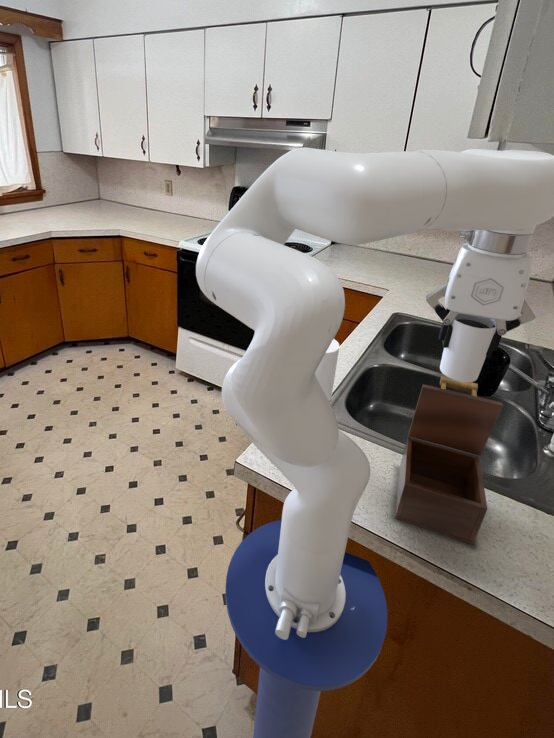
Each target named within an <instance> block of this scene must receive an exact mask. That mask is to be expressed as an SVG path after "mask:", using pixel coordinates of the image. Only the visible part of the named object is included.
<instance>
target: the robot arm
mask: <svg viewBox="0 0 554 738" xmlns="http://www.w3.org/2000/svg"><path fill="white" fill-rule="evenodd" d="M553 217H554V155H553V154H551V153H548V152H544V151H536V150H526V149H525V150H524V149H523V150H522V149H506V150H498V149H486V148H470V149H465V150H462V151H456V150H455V151H453V150H442V149H418V150H417V149H416V150H405V151H403V150H402V151H389V152H388V151H387V152H386V151H382V152H345V151H338V150H337V151H335V150H329V149H322V148H321V149H320V148H314V147H313V148H312V147H298V148H294V149H291V150H289V151H288V152H286V153H284V154H283V155H281V156H279V158H277V159H276V160H275V161H274V162H273V163H272V164H270V165H269V166H268V167H267V168H266V169H265V170H264V171H263V172H262V174H260V175H259V177H257V179H256V180H255V181H254V182H253V183H252V184H251V185H250V186H249V187H248V189H247V190H246V191H245V192H244V193H243V195H242V196H240V198H239V200H238V201H237V202H236V203H235V204H234V205H233V207H232V208H231V209H230V210H229V211H228V213H226V215H225V216H223V219H221V221H220V222H219V223H218V224H217V225H216V226H215V228H214V229H213V230H212V232H211V233H210V234H209V235H208V237H207V238H206V239H205V240H204V243H203V244H202V247H201V248H200V251H199V253H198V255H197V259H196V263H195V277H196V282H197V284H198V286H199V289H200V291H201V292H202V293H203V294H204V296H205V297H206V298H207V300H209V301H211V302H212V303H213V304H214V305H216V306H218V307H219V308H220V309H222V310H223V311H224V312H226V313H227V314H229V315H231V316H232V317H234V318H235V319H236V320H238V321H240V322H241V323H242V324H244V325H245V326H247V327H248V328H250V329H252V330H253V331H254V334H253V337H252V340H251V342H250V344H249V345H248V347H247V349H246V351H245V352H244V354H243V356H242V357H241V358H240V359H238V360H237V361H235V362H234V363H233V364H232V365H231V367H230V368H229V369H228V371H227V372H226V374H225V376H224V379H223V381H222V386H221V401H222V406H223V408H224V410H225V412H226V413H227V414H228V415H229V417H230V419H232V420H233V422H234V424H236V425H237V427H238V428H239V429H240V431H242V433H243V434H244V435H245V436H246V437H247V438H248V440H249V441H250V442H251V443H252V444H253V445H254V446H255V447H256V449H258V451H259V452H260V453H261V454H263V456H264V457H265V458H266V459H267V460H268V461H269V462H270V463H271V464H272V465H273V466H274V467H275V468H276V469H277V470H278V471H279V472H280V473H281V474H282V475H283V476H284V478H286V479H287V480H288V482H290V484H291V485H292V486H293V487H294V488H293V489H292V490H291V491H290V492H289V493H288V495H287V496H286V498H285V500H284V502H283V507H282V513H281V520H282V522H281V531H280V540H279V549H278V555H276V557H275V558H274V559H273V560H272V561H271V563H270V564H269V566H268V569H267V572H266V578H265V589H266V595H267V598H268V601H269V603H270V605H271V607H272V609H273V611H274V612H275V613H276V614H277V616H278V617H279V620H278V623H277V627H276V630H275V634H276V635H277V636H278V637H279V638H281V639H283V640H287V639H288V637H289V633H290V629H291V627H293V628H295V629H297V635H298V636H300V637H302V638H305V637H306V634H307V632H319V631H323V630H326V629H328V628H330V627H331V626H332V625H334V624H335V623H336V622H337V621H338V619H339V618H340V616H341V614H342V612H343V609H344V605H345V599H346V592H345V586H344V582H343V579H342V577H341V575H340V573H341V568H342V563H343V559H344V554H345V552H346V548H347V544H348V539H349V536H350V535H349V534H350V529H351V525H352V521H353V517H354V514H355V511H356V508H357V506H358V504H359V502H360V500H361V498H362V496H363V494H364V492H365V490H366V488H367V486H368V483H369V480H370V477H371V465H370V461H369V459H368V456H367V455H366V453H365V452H364V451H363V449H362V448H361V447H360V446H359V445H358V444H357V443H356V442H355V441H354V440H353V439H352V438H351V437H349V436H348V435H347V434H345V433H344V432H343V431H342V430H340V429H339V423H338V418H337V415H336V413H335V411H334V409H333V406H332V404H331V403H330V402H329V400H328V399H327V397H326V395H325V393H324V391H323V389H322V387H321V385H320V383H319V382H318V380H317V377H316V375H315V372H316V370H317V368H318V366H319V364H320V362H321V360H322V358H323V357H324V355H325V353H326V351H327V349H328V348H329V346H330V344H331V342H332V341H333V339H335V337H336V335H337V334H338V331H339V330H340V327H341V325H342V323H343V318H344V316H345V310H346V309H345V308H346V298H345V291H344V287H343V284H342V283H341V281H340V279H339V277H338V276H337V274H336V273H335V272H334V270H332V269H331V268H330V267H329V266H327V265H326V264H325V263H323V262H322V261H321V260H319V259H317V258H315V257H313V256H311V255H309V254H308V253H305V252H302V251H300V250H298V249H295V248H292V247H290V246H287V245H285V244H286V243H287V241H288V240H289V238H290V237H291V236H292V234H294V232H295V230H298V231H301V232H304V233H307V234H310V235H313V236H316V237H319V238H321V239H325V240H327V241H331V242H333V243H338V244H343V245H349V246H350V245H351V246H352V245H353V246H357V245H365V244H369V243H374V242H379V241H384V240H387V239H391V238H396V237H400V236H406V235H410V234H414V233H419V232H424V231H428V230H429V231H448V232H459V235H458V237H459V238H461V239H464V240H466V241H467V242H466V243H463V244H462V246H461V248H460V249H459V251H458V253H457V256H456V258H455V259H454V263H453V265H452V268H451V270H450V273H449V276H448V278H447V282H446V283H444V284H442V285H441V286H439V287H437V288H436V289H434V290H433V291H431V292H430V293H428V294H427V295H426V296H425V301H426V303H427V304H428V305H429V306H430V307H431V309H433V310H434V313H435V314H436V315H437V316H438V317H439V319H440V320H441V321H442V323H441V327H440V331H439V334H438V340H439V341H440V340H441V342H442V348H443V349H444V348H447V347H448V345H449V342H450V339H451V335H452V330H453V327H452V325H451V323H452V322H453V320H454V319H455V318H456V316H457V315H458V314H459V313H462V314H468V315H473V316H479V317H485V318H491V319H494V320H495V321H496V326H497V329H496V332H495V334H494V335H493V338H492V340H491V343H490V345H489V348H488V350H487V353H486V357H488V358H491V357H492V355H493V352H494V351H496V352H497V351H498V348H499V346H500V342H501V340H502V337H503V336H505V335H507V333H509V332H510V331H513V330H515V329H516V328H518V327H520V326H521V325H524V324H526V323H530V322H531V321H534V320H535V319H536V315H535V313H534V311H533V310H532V308H531V307H530V305H529V304H528V302H527V300H526V294H527V290H528V287H529V282H530V277H531V272H532V265H533V255H532V254H530V253H529V252H528V250H529V247H530V244H531V241H532V238H533V235H534V232H535V230H536V227H537V226H538V225H542V224H543V223H545V222H548V221H549V220H551V219H552V218H553ZM441 298H444V300H443V302H444V305H443V304H442V303H441V302H440V301H439V300H440V299H441ZM494 327H495V325H493V327H492V328H494ZM270 590H271V591H270ZM331 617H332V618H331ZM294 621H296V622H297V623H296V622H294Z"/></svg>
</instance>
